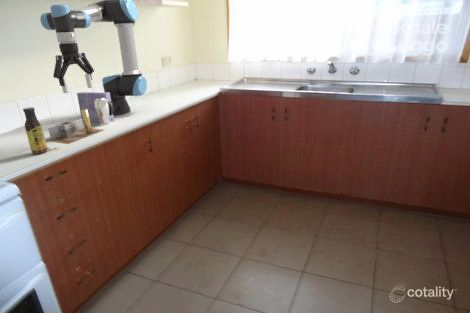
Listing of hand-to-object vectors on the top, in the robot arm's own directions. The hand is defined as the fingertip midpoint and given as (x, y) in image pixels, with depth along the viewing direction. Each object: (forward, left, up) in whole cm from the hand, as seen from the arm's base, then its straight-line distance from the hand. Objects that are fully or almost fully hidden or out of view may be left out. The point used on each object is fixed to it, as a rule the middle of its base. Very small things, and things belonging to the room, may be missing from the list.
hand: (78, 90), depth 152 cm
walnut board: (+4, -5, -23) cm, 24 cm away
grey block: (+2, -8, -21) cm, 23 cm away
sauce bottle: (+24, -4, -23) cm, 33 cm away
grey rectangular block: (+8, -9, -21) cm, 24 cm away
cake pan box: (-20, -15, -23) cm, 34 cm away
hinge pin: (0, 0, -21) cm, 21 cm away
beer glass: (-16, -6, -23) cm, 29 cm away
